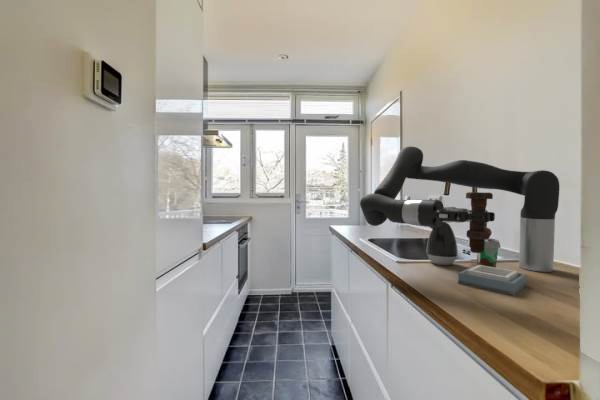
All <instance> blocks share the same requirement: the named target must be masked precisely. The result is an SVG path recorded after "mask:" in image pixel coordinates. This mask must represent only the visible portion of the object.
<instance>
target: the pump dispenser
mask: <svg viewBox="0 0 600 400" xmlns="http://www.w3.org/2000/svg"><path fill="white" fill-rule="evenodd" d="M451 226H452V225H450V224H449V223H448V222H444V221H443V223H442V224H441V226H440V227H429V228H430V229H431V231H430V233H429V236H428V239H427V240H428V241H427V243H426V250H425V251H426V255H427V257H428V259H429V261H430V262H431V263H433V264H434V265H438V266H449V265H452V264H454V263H455V261H456V260H457V257H458V255H459V250H458V244H457V238H456V236H455V235H456V234H455V232H454V230H453V228H452V227H451Z"/></svg>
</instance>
